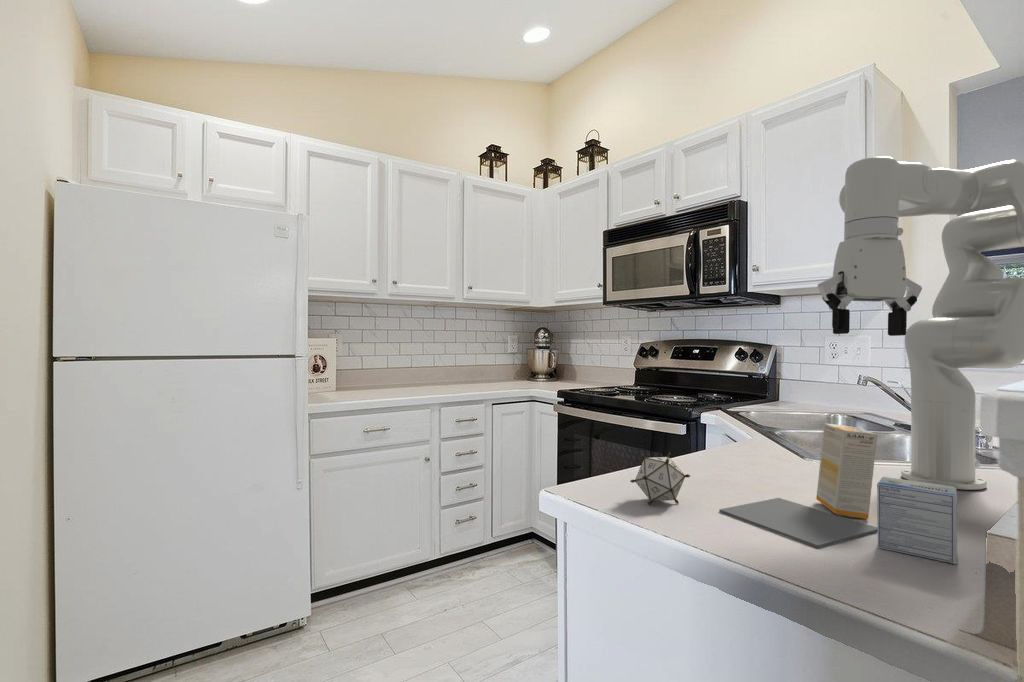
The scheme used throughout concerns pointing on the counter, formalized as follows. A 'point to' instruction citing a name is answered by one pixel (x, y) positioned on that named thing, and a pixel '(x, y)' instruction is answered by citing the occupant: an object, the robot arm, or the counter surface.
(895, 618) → the counter surface
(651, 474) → the game die
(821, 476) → the supplement box
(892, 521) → the medicine box
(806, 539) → the mat
